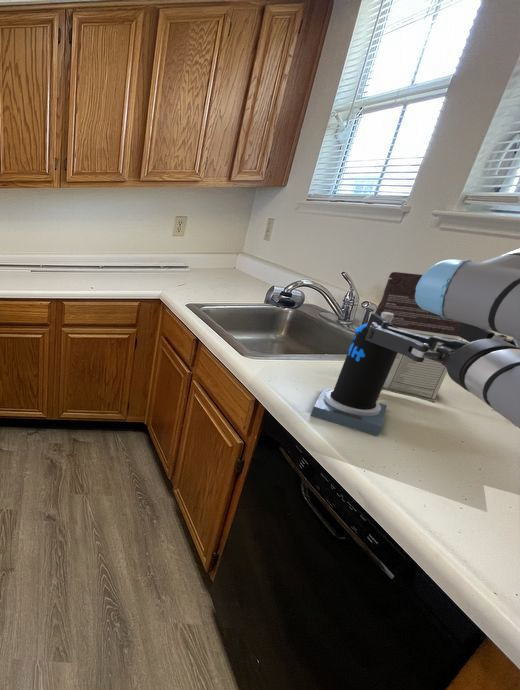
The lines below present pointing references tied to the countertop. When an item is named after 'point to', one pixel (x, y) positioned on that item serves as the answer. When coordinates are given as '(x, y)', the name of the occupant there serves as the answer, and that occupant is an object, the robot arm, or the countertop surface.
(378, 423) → the kitchen scale
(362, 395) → the aerosol can
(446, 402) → the countertop surface
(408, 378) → the protein powder
